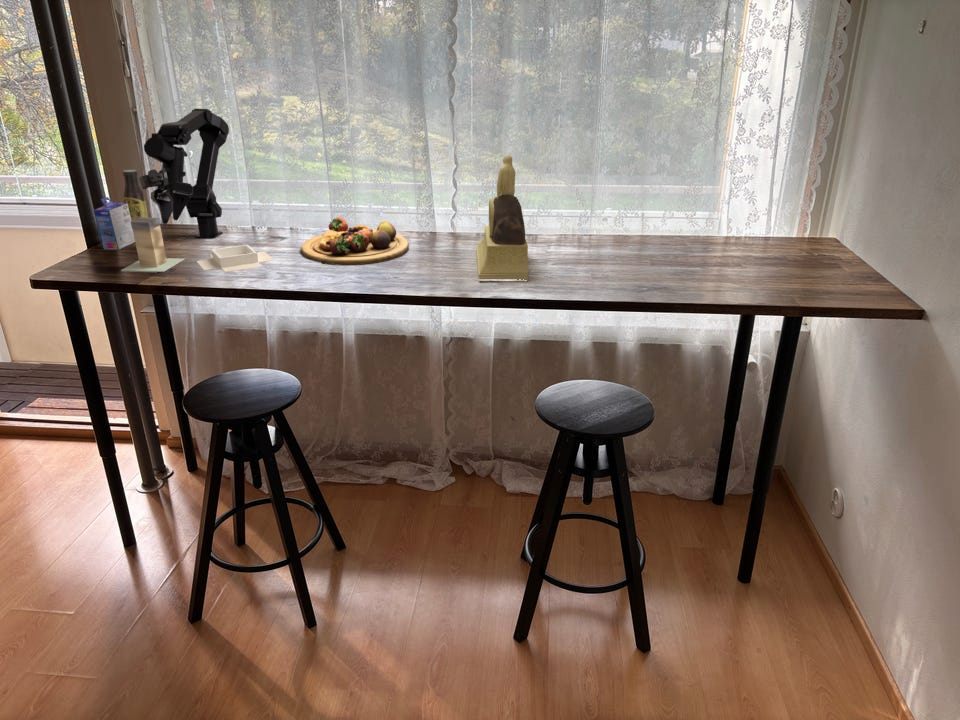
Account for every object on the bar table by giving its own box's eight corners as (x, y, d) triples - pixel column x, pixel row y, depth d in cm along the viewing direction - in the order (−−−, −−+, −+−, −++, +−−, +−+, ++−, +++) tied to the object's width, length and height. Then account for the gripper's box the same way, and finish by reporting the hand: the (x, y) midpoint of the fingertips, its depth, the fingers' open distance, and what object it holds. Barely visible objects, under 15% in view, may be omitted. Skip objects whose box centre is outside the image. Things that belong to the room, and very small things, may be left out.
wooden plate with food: (297, 241, 221) (294, 215, 218) (397, 232, 230) (396, 207, 226) (306, 272, 194) (302, 243, 190) (419, 261, 202) (418, 233, 199)
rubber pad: (144, 258, 202) (144, 257, 202) (184, 260, 201) (184, 258, 201) (121, 271, 191) (121, 270, 191) (163, 272, 190) (163, 271, 190)
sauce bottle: (125, 234, 227) (112, 171, 219) (137, 229, 233) (124, 168, 225) (144, 235, 226) (131, 172, 218) (155, 230, 232) (143, 169, 224)
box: (150, 261, 199) (141, 217, 193) (167, 261, 198) (159, 217, 193) (139, 266, 194) (130, 221, 189) (157, 267, 193) (148, 222, 188)
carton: (193, 258, 203) (191, 248, 202) (259, 248, 212) (258, 239, 211) (207, 275, 188) (206, 264, 187) (278, 264, 197) (277, 254, 196)
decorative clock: (476, 252, 209) (476, 148, 197) (519, 252, 210) (522, 148, 197) (478, 282, 184) (478, 164, 171) (527, 281, 184) (531, 164, 172)
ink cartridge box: (120, 241, 220) (110, 194, 214) (137, 241, 219) (127, 194, 213) (101, 249, 211) (90, 201, 205) (119, 250, 210) (108, 201, 204)
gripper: (133, 167, 204) (130, 221, 204) (153, 155, 190) (150, 212, 190) (173, 175, 212) (170, 227, 212) (195, 164, 198) (192, 219, 198)
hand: (170, 221), depth 203 cm, fingers open, 9 cm apart
